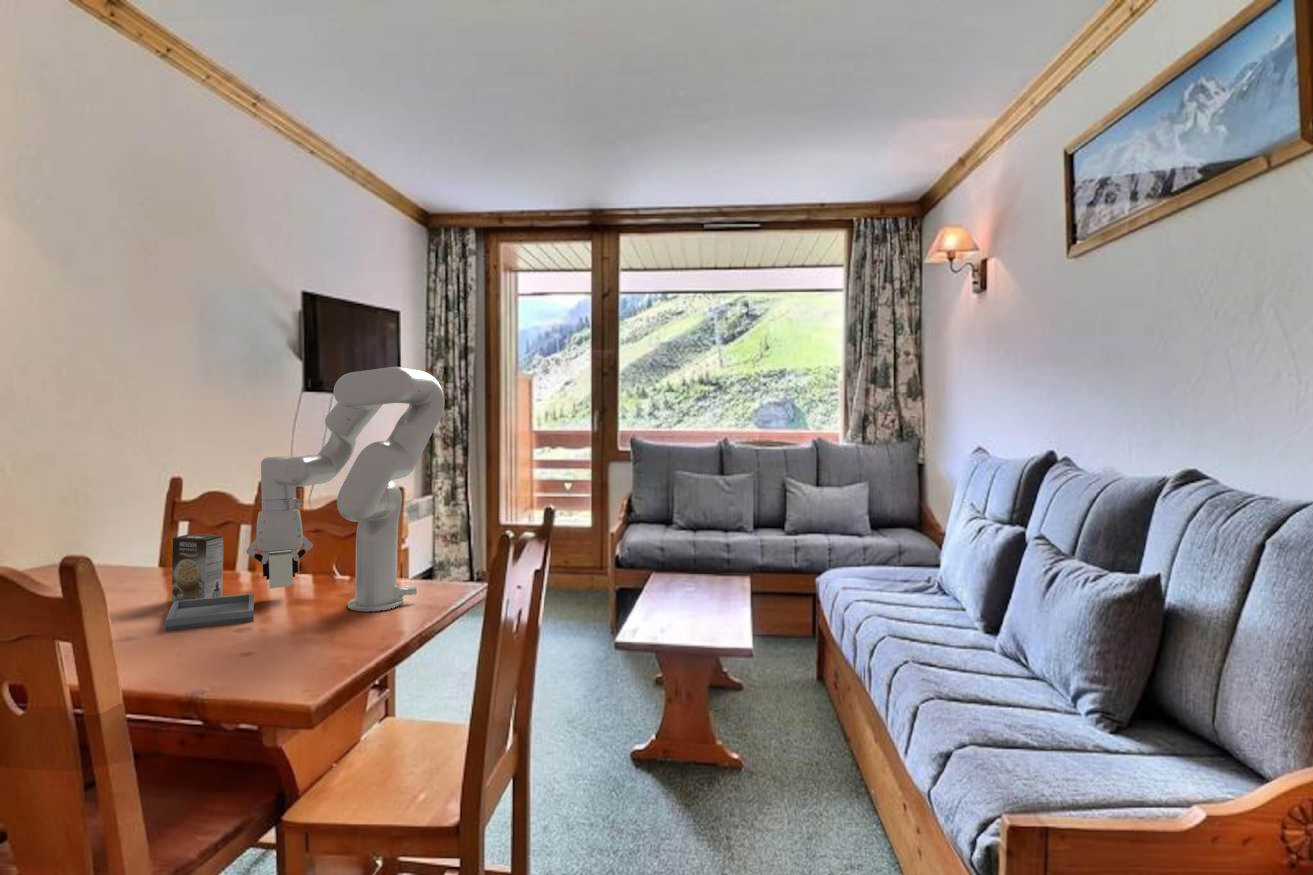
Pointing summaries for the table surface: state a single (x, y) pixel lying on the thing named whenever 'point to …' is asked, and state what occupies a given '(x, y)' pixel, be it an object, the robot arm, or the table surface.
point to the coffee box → (197, 566)
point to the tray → (210, 612)
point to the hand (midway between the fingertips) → (280, 576)
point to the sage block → (280, 569)
